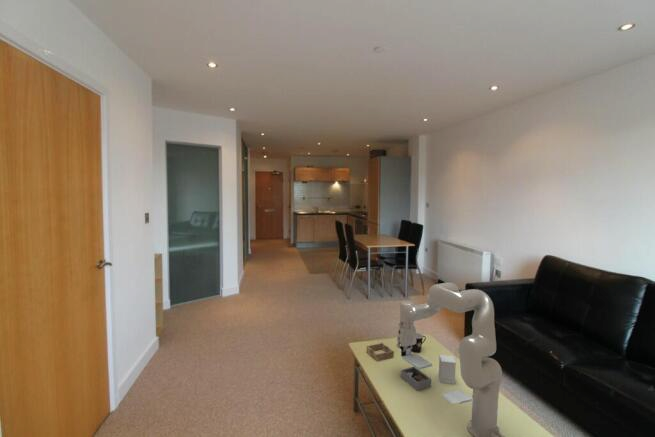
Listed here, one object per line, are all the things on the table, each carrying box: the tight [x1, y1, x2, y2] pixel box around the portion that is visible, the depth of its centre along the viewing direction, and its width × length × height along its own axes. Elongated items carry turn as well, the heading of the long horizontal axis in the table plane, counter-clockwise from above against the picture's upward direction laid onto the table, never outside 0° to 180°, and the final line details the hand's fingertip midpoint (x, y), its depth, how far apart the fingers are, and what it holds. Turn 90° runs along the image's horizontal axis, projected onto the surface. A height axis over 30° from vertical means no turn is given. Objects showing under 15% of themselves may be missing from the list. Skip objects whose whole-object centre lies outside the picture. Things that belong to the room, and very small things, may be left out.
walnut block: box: [414, 375, 426, 382], centre depth 163 cm, size 4×4×4 cm
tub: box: [400, 366, 432, 392], centre depth 166 cm, size 13×9×5 cm
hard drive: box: [440, 389, 473, 405], centre depth 154 cm, size 2×8×12 cm
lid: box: [401, 346, 433, 371], centre depth 167 cm, size 17×9×4 cm, turn 25°
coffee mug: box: [411, 332, 427, 354], centre depth 202 cm, size 12×9×10 cm
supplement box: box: [438, 354, 457, 385], centre depth 168 cm, size 7×7×13 cm
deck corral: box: [366, 342, 395, 362], centre depth 196 cm, size 12×12×4 cm
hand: (406, 356), depth 173 cm, fingers closed on lid, 3 cm apart
